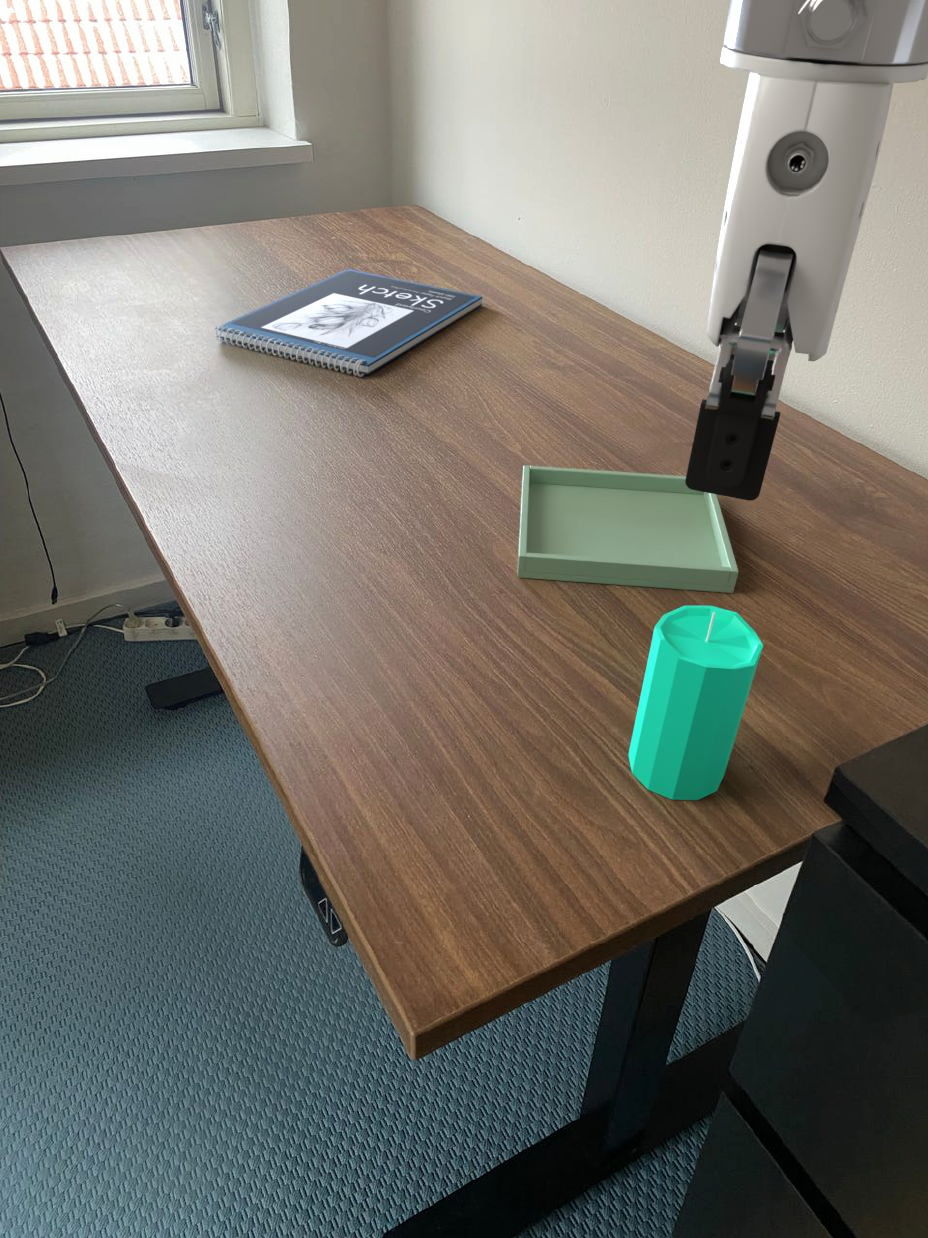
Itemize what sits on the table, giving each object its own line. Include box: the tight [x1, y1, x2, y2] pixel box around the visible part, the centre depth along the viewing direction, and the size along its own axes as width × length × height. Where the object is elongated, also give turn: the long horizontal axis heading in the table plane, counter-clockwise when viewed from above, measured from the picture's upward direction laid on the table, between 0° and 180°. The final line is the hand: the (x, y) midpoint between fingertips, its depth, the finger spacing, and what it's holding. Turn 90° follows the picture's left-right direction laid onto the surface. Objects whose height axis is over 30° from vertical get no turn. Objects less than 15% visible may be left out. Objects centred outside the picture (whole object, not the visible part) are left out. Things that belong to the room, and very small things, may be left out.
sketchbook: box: [215, 268, 483, 378], centre depth 118 cm, size 22×30×2 cm
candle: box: [628, 605, 764, 801], centre depth 55 cm, size 6×6×12 cm
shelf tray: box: [516, 465, 739, 594], centre depth 79 cm, size 17×15×2 cm
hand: (733, 445), depth 44 cm, fingers open, 9 cm apart
